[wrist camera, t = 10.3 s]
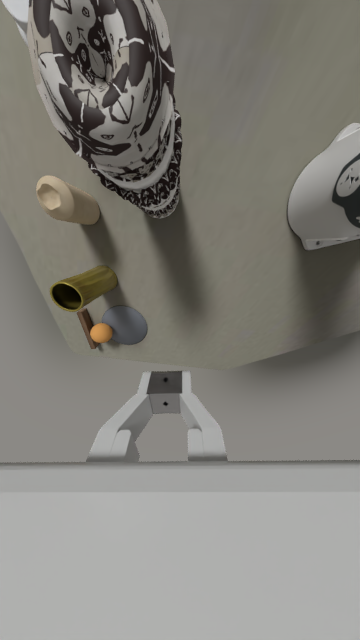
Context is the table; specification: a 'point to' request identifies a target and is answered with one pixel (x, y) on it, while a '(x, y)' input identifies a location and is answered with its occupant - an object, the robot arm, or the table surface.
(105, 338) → the ball
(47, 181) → the candle
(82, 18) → the decorative candle
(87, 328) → the stopper strip
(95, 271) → the vase
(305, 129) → the table surface
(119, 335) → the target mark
